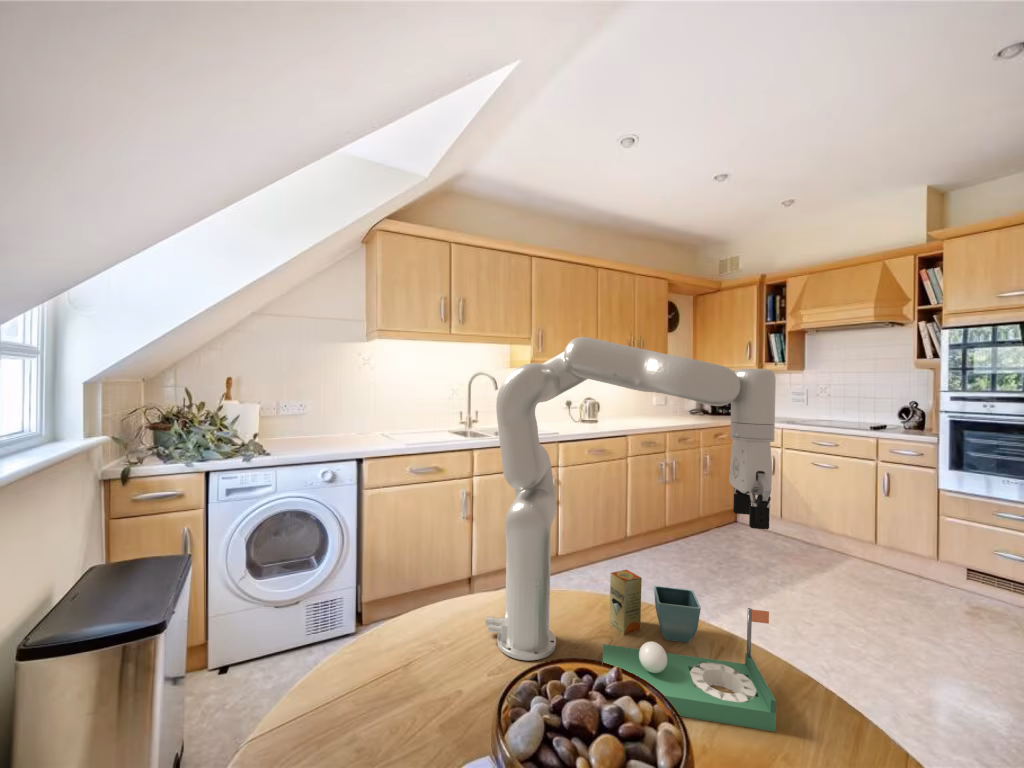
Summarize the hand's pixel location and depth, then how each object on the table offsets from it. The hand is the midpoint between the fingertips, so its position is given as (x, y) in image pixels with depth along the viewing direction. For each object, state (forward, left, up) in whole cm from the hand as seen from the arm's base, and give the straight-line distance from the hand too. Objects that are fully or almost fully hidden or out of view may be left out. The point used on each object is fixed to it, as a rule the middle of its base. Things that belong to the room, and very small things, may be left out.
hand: (750, 520), depth 85 cm
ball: (-18, -8, -25) cm, 32 cm away
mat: (-13, -8, -30) cm, 34 cm away
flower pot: (-11, +11, -30) cm, 34 cm away
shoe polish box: (-22, +12, -30) cm, 40 cm away
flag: (+1, -2, -30) cm, 30 cm away
